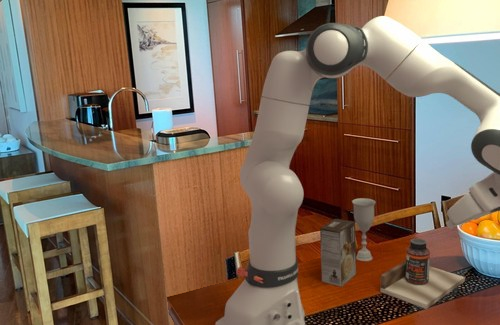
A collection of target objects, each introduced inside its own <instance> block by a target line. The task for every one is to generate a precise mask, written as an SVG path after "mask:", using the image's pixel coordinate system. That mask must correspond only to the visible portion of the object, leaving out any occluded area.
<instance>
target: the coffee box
mask: <svg viewBox="0 0 500 325" xmlns="http://www.w3.org/2000/svg"><path fill="white" fill-rule="evenodd" d="M319 232H320V233H319V234H320V259H321V260H320V263H321V264H320V265H321V266H320V267H321V281H322V283H326V284H329V285H334V286H338V287H343V286H344V285H345V284H347V283H348V282H349V281H350V280H351V279H352V278H354V276H356V274H357V265H356V264H357V259H356V256H357V254H356V222H355V221H354V220H353V221H352V220H346V219H340V218H334V219H332V220H331V221H329V222H327V223H326V224H325V225H323V226H322V227H320V229H319Z"/></svg>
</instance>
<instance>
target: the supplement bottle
mask: <svg viewBox="0 0 500 325" xmlns="http://www.w3.org/2000/svg"><path fill="white" fill-rule="evenodd" d="M430 253H431V252H430V249H429V248H428V247H427V240H425V239H422V238H412V239H410V244H409V246H408V247H407V248H406V251H405V254H406V256H405V261H406V280H407V281H408V282H410V283H412V284H417V285H422V284H425V283H427V282H428V281H429V266H430V257H431V256H430V255H431V254H430Z"/></svg>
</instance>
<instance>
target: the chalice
mask: <svg viewBox="0 0 500 325" xmlns="http://www.w3.org/2000/svg"><path fill="white" fill-rule="evenodd" d="M351 202H352V205H353V218H354V222H355V225H357V228H358V229H359V231H361V232H362V236H361V239H362V241H361V243H360V244H361V245H362V248H361V249H359V250H358V251H357V254H356V261H357V260H358V261H361V262H370V261H372V260H373V256H372V254H371V251H370V250H369V249H368V248H366V247H367V244H368V242H367V241H366V240H367V238H368V236H367V235H366V234H367V233H366V232H368V231H369V230H370V228H371V227H372V225H373V221H374V219H375V205H376V202H377V201H376V200H374V199H371V198H364V197H362V198H355V199H353V200H351Z"/></svg>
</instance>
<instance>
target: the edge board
mask: <svg viewBox="0 0 500 325" xmlns="http://www.w3.org/2000/svg"><path fill="white" fill-rule="evenodd" d="M464 282H466V277H465V276H462V275H458V274H456V273H452V272H449V271H445V270H442V269H439V268H436V267H433V266H430V265H429V281H428V282H427V283H425V284H422V285H417V284H412V283H410V282H408V281H407V280H406V260H405V261H402V262H401V263H399V264H397V265H395V266H394V267H392V268H390V269H388V270H386V271H385V272H384V273H381V274H380V293H383V294H386V295H387V296H390V297H393V298H396V299H398V300H401V301H404V302H406V303H409V304H411V305H413V306H416V307H420V308H421V309H425V310H427V309H429V308H430V307H432V306H433V305H434V304H436V302H438V301H440V300H441V299H442V298H444V297H445V296H446V295H448V294H449V293H450V292H452V291H453V290H455V289H457V287H460V286H461V285H462V284H463V283H464Z"/></svg>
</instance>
